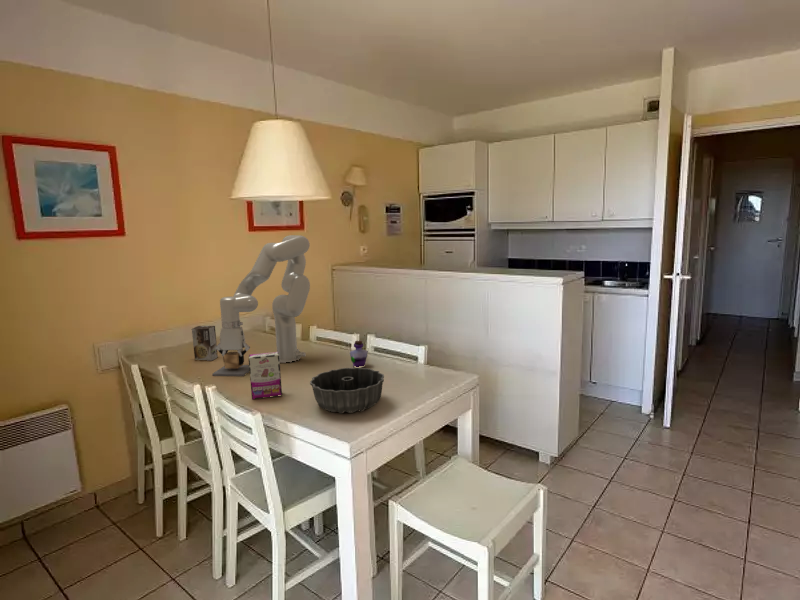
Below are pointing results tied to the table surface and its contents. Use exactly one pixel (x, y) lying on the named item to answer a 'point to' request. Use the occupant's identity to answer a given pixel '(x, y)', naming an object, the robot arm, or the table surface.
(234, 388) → the table surface
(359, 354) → the potion bottle
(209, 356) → the coffee box
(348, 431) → the table surface
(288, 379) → the table surface
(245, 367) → the charcoal mat
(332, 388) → the bundt pan
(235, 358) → the oak cube
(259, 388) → the candy bar box
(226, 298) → the robot arm
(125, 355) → the table surface
